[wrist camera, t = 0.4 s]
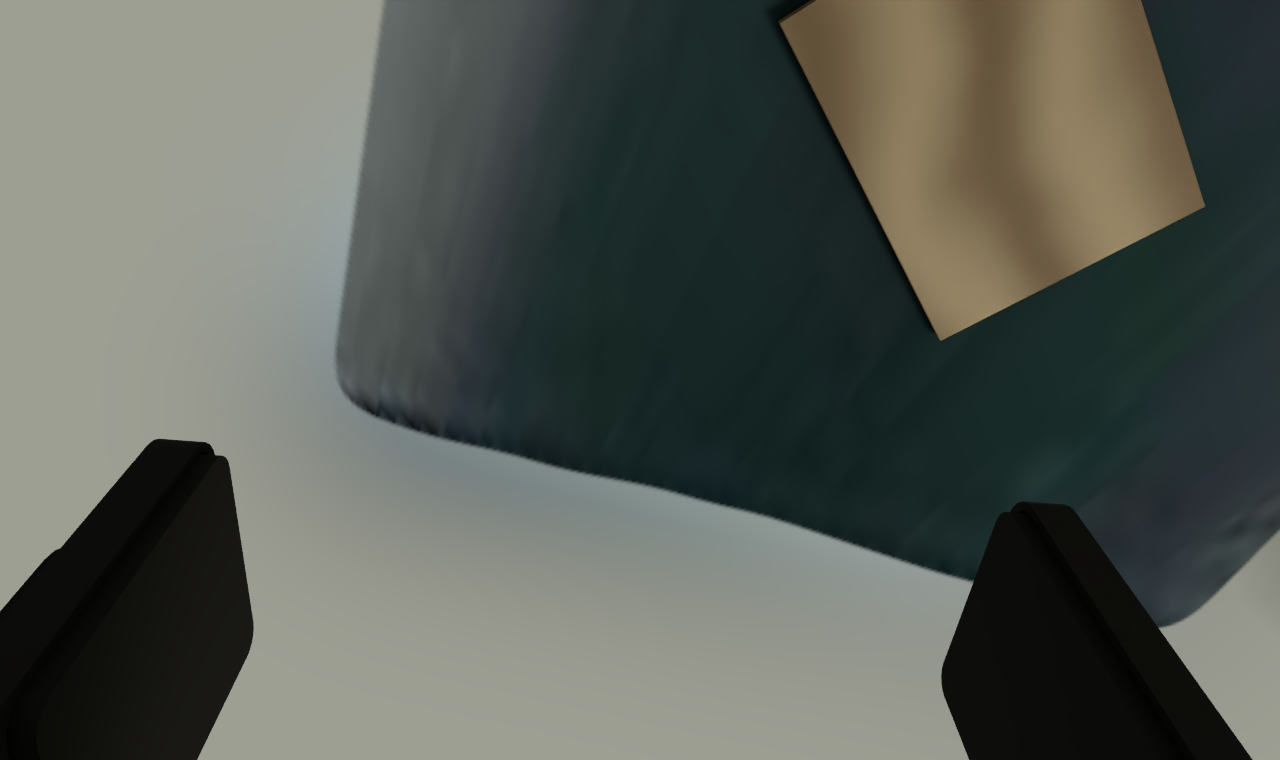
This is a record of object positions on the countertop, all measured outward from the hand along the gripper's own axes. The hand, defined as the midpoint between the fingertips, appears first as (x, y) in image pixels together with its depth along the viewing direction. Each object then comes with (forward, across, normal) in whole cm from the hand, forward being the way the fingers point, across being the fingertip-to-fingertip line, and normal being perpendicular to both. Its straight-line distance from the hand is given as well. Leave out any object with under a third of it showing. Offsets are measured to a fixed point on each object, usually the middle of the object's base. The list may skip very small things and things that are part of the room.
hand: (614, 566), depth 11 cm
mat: (+28, -15, 0) cm, 32 cm away
